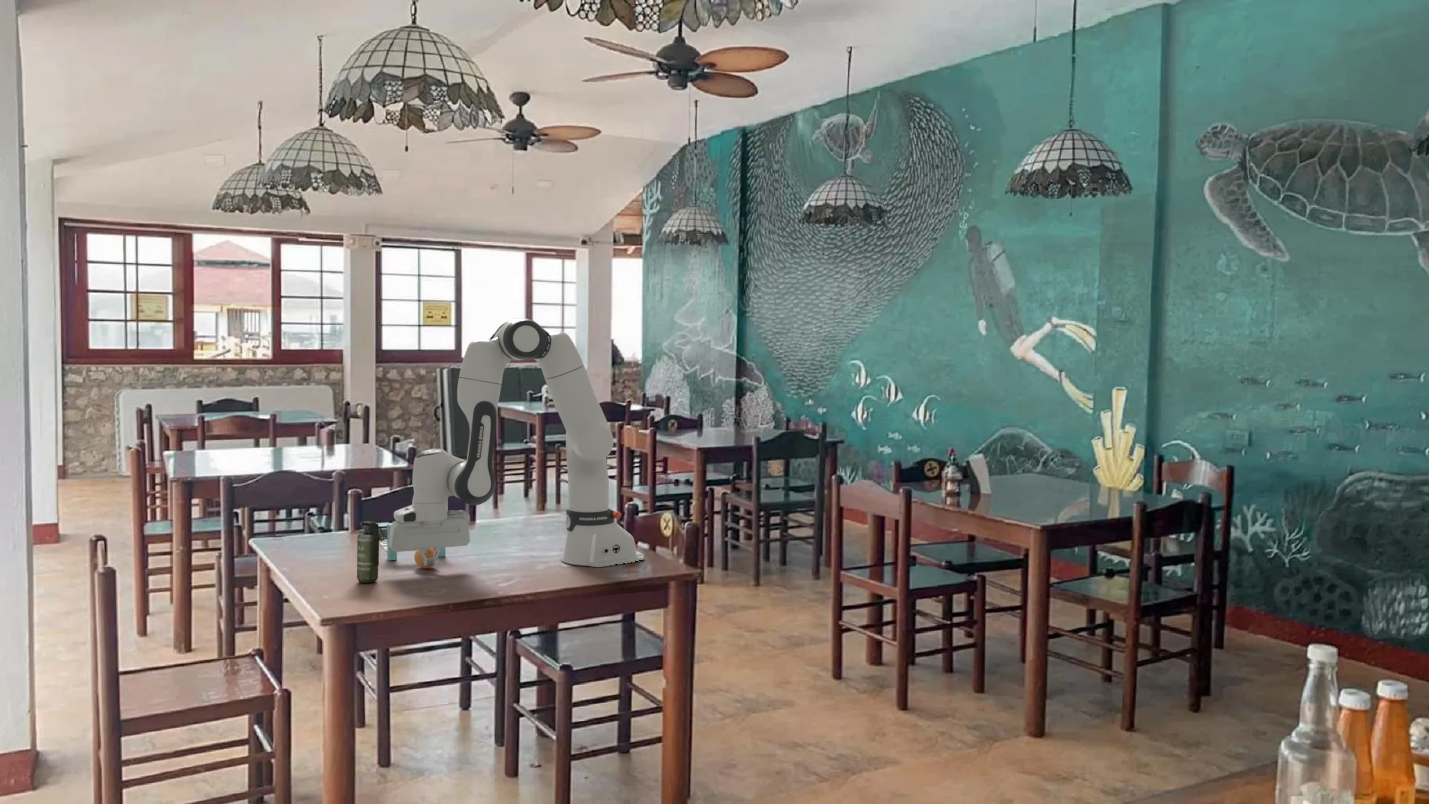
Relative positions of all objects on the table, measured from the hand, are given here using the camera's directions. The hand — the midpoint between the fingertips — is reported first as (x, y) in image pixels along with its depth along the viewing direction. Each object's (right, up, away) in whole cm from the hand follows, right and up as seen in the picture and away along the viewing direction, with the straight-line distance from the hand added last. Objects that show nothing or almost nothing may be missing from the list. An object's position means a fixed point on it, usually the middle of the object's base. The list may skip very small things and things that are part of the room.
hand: (429, 565), depth 282 cm
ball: (-2, +2, +3) cm, 4 cm away
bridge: (-8, 0, +16) cm, 17 cm away
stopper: (-22, +2, +43) cm, 48 cm away
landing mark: (-15, +1, +30) cm, 33 cm away
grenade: (-12, -3, -12) cm, 17 cm away
